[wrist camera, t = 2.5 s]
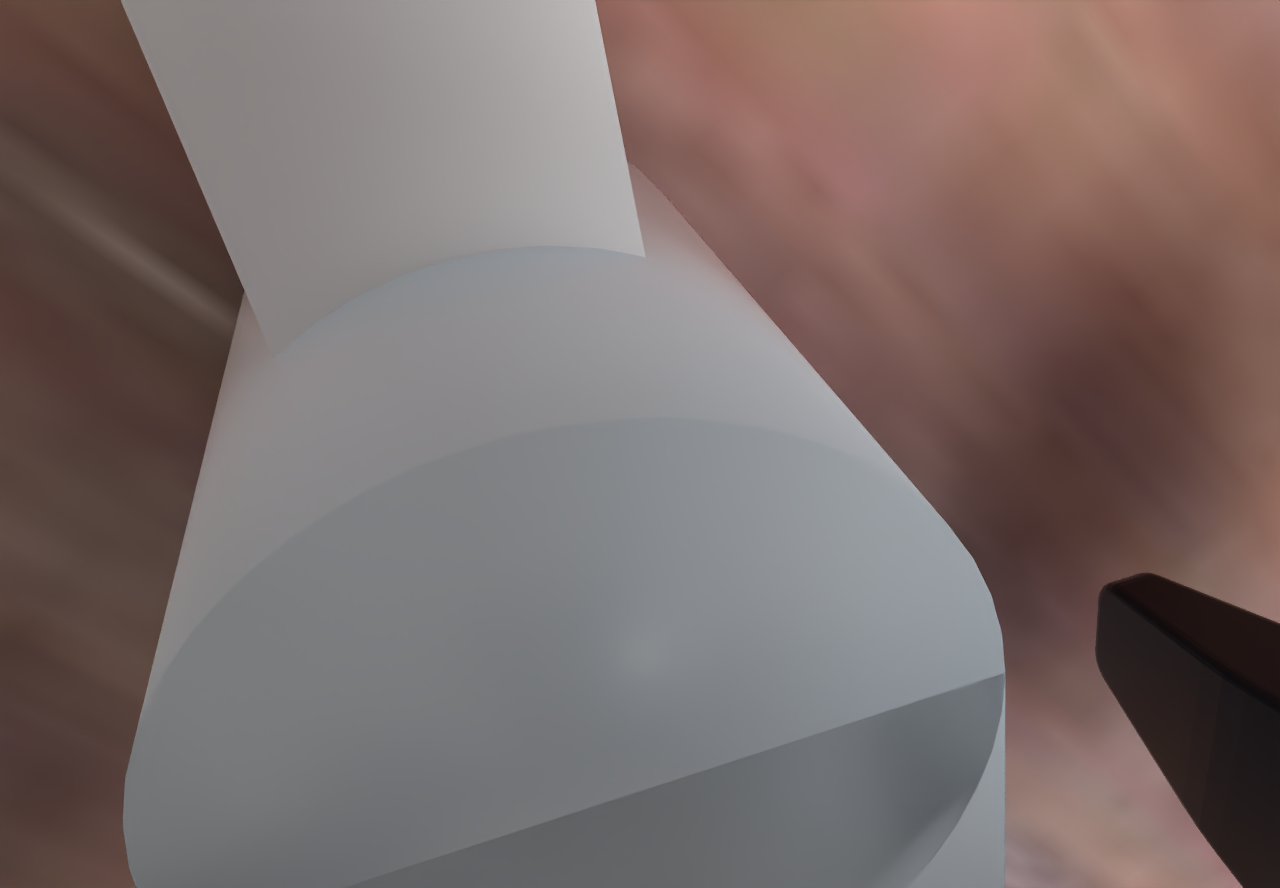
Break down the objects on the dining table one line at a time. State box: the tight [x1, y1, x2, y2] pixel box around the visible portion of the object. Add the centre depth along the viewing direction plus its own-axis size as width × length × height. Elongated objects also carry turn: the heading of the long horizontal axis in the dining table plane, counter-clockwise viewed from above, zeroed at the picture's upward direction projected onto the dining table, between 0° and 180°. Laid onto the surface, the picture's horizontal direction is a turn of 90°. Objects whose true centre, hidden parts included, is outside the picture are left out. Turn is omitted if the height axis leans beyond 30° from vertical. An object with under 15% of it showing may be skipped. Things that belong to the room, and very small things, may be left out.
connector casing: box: [121, 0, 1005, 888], centre depth 8 cm, size 13×4×5 cm, turn 11°
